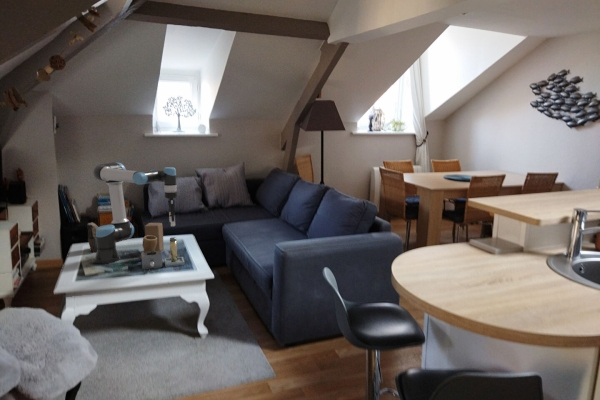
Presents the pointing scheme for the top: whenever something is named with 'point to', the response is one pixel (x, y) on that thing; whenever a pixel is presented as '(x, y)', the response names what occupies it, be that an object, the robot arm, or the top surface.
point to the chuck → (151, 259)
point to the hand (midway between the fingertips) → (172, 224)
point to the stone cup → (149, 243)
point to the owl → (92, 236)
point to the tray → (179, 262)
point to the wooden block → (155, 234)
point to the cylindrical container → (173, 249)
